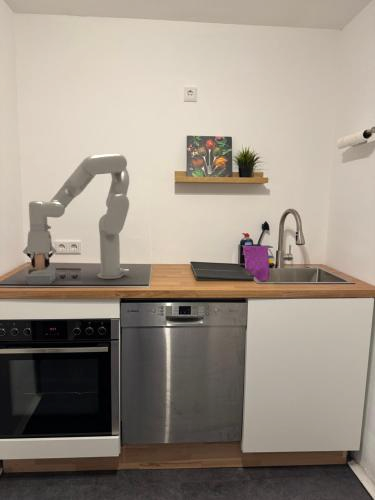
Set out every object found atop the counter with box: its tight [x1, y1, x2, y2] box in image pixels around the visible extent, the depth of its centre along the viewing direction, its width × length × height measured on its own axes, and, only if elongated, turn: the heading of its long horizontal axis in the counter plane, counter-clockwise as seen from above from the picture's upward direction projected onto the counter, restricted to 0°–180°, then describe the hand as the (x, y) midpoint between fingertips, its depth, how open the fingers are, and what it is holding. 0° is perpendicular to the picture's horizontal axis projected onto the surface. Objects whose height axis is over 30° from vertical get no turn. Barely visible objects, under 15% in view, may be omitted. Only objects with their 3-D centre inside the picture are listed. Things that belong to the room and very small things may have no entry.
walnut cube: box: [27, 267, 38, 275], centre depth 174 cm, size 4×4×4 cm
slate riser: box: [26, 270, 56, 285], centre depth 165 cm, size 10×10×4 cm
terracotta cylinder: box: [34, 253, 48, 271], centre depth 163 cm, size 5×5×7 cm
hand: (40, 266), depth 164 cm, fingers closed on terracotta cylinder, 5 cm apart
